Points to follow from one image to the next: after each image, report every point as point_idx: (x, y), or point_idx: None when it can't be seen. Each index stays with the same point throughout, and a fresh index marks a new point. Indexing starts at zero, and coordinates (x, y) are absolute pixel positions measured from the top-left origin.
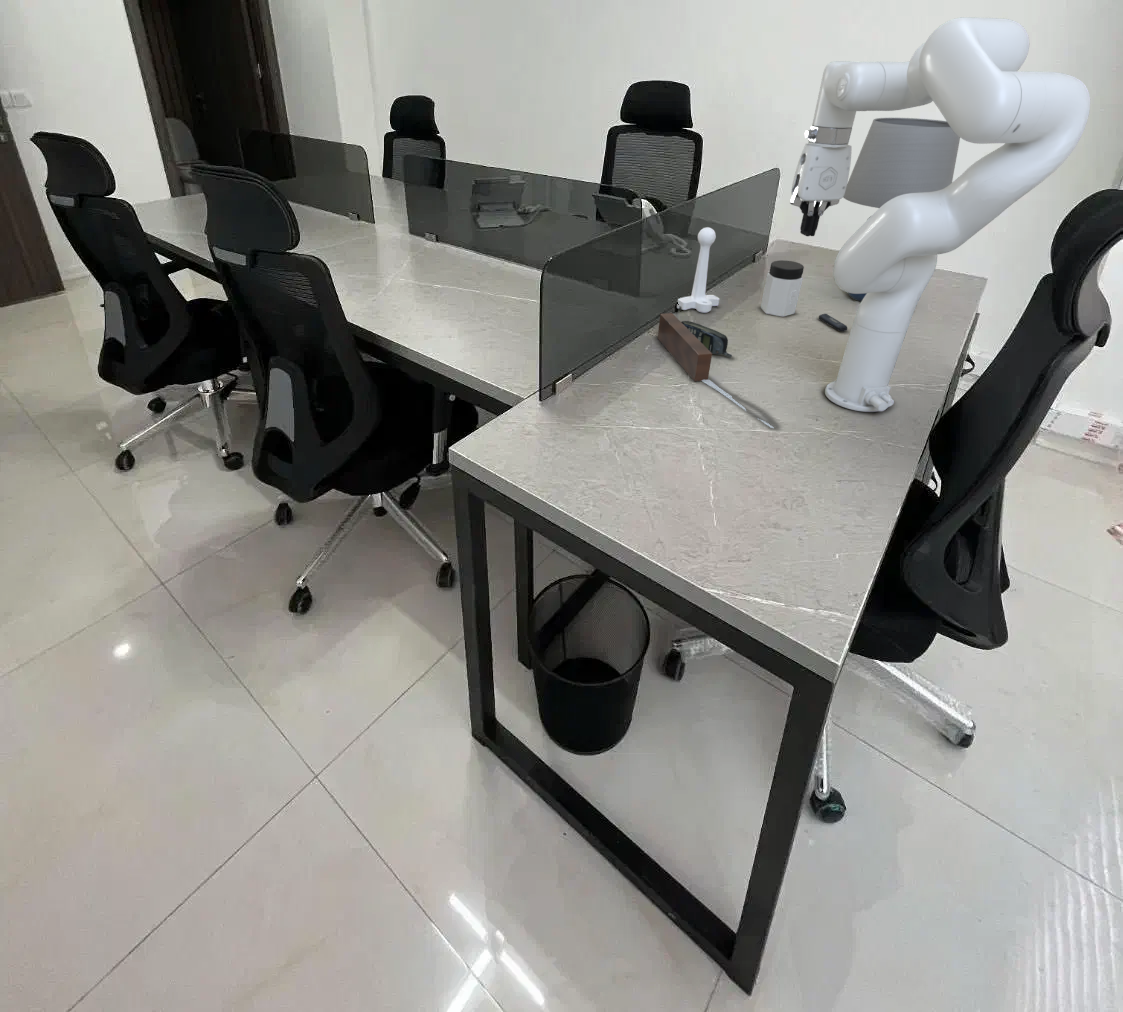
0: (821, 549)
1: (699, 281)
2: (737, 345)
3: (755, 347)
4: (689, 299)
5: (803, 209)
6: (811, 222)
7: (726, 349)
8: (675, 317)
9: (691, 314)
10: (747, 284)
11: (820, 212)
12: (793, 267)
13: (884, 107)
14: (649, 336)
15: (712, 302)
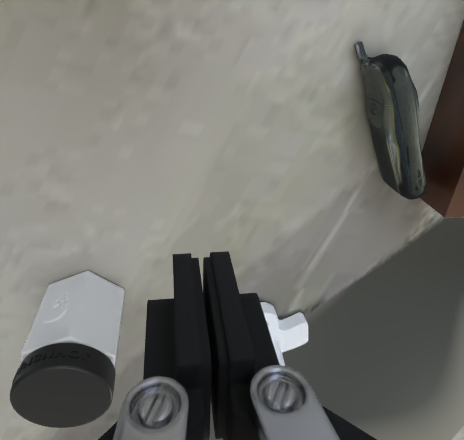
0: None
1: None
2: (289, 122)
3: (251, 102)
4: (285, 339)
5: (363, 432)
6: (241, 316)
7: (369, 61)
8: (457, 190)
9: (292, 296)
10: (94, 424)
11: (162, 409)
12: (52, 381)
13: None
14: None
15: None
